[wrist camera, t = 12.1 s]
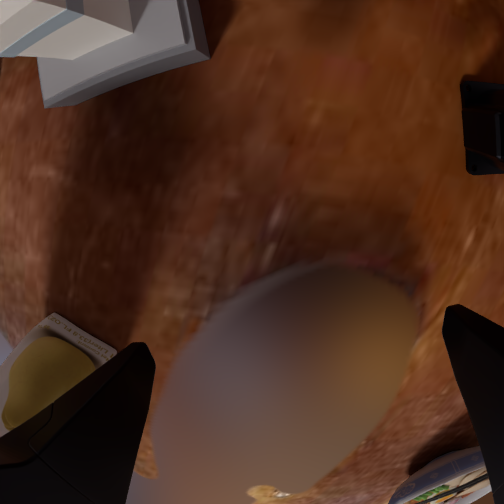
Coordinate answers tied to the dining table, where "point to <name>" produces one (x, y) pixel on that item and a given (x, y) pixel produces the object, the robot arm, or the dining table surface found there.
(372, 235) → the dining table surface
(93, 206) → the dining table surface
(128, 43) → the display podium
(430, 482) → the ramen bowl
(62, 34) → the carton
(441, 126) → the dining table surface
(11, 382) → the juice carton
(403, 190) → the dining table surface
